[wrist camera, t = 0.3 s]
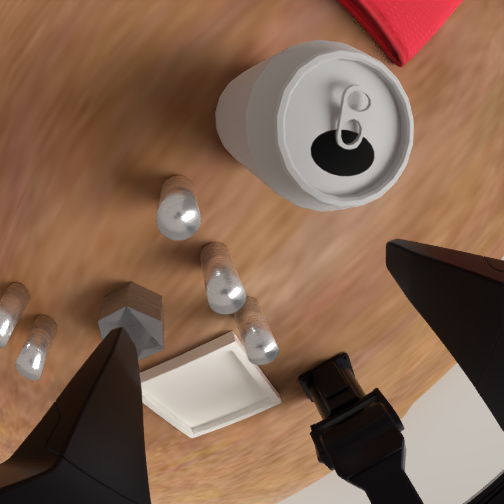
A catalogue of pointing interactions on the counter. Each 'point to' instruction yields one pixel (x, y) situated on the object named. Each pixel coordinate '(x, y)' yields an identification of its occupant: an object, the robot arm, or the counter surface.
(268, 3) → the counter surface
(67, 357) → the counter surface
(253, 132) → the can
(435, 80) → the counter surface
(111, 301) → the grey faceted icosahedron
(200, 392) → the tray
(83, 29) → the counter surface
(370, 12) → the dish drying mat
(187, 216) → the spacer posts
